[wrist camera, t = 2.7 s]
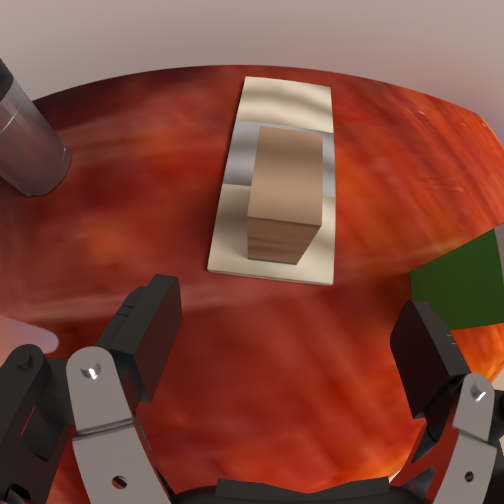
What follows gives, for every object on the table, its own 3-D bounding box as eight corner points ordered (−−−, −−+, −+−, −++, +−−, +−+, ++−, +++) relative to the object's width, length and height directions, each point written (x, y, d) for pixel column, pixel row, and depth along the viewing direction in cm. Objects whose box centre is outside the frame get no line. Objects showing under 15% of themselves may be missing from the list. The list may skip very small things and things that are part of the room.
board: (329, 285, 30) (332, 283, 29) (209, 271, 30) (207, 269, 29) (328, 92, 38) (330, 87, 37) (246, 82, 39) (245, 76, 37)
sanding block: (296, 265, 29) (321, 225, 19) (247, 259, 29) (247, 216, 19) (301, 196, 31) (322, 134, 21) (256, 190, 32) (260, 126, 21)
